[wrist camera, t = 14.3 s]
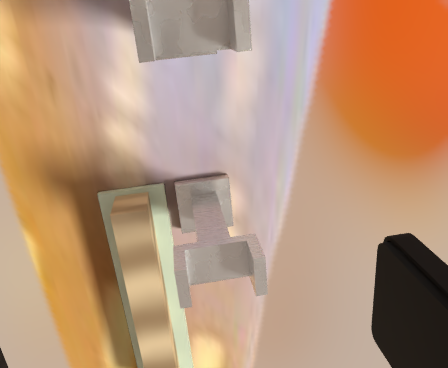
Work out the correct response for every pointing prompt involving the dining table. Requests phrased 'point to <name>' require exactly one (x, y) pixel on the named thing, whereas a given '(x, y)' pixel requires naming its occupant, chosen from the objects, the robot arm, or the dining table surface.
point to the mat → (167, 264)
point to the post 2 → (213, 240)
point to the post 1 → (189, 27)
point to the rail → (144, 279)
